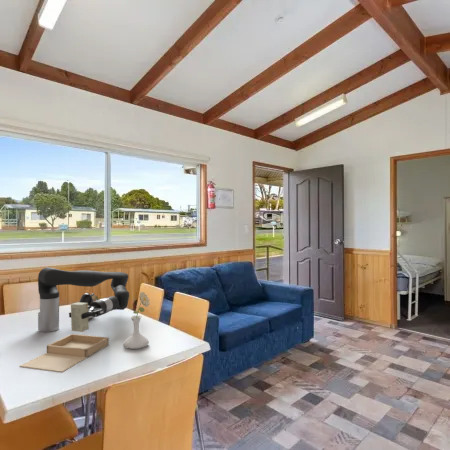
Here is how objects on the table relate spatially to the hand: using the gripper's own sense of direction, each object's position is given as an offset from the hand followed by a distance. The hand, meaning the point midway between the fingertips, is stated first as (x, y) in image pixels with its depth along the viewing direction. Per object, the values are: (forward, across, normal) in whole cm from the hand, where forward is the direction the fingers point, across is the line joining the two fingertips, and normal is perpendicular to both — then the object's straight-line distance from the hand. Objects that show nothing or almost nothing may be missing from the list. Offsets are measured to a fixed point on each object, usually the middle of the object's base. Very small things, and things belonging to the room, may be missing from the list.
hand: (75, 316), depth 147 cm
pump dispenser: (-44, +33, -16) cm, 57 cm away
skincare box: (-2, 0, -7) cm, 8 cm away
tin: (-63, +48, -16) cm, 81 cm away
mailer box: (+5, 0, -16) cm, 16 cm away
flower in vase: (-14, -23, -16) cm, 31 cm away
